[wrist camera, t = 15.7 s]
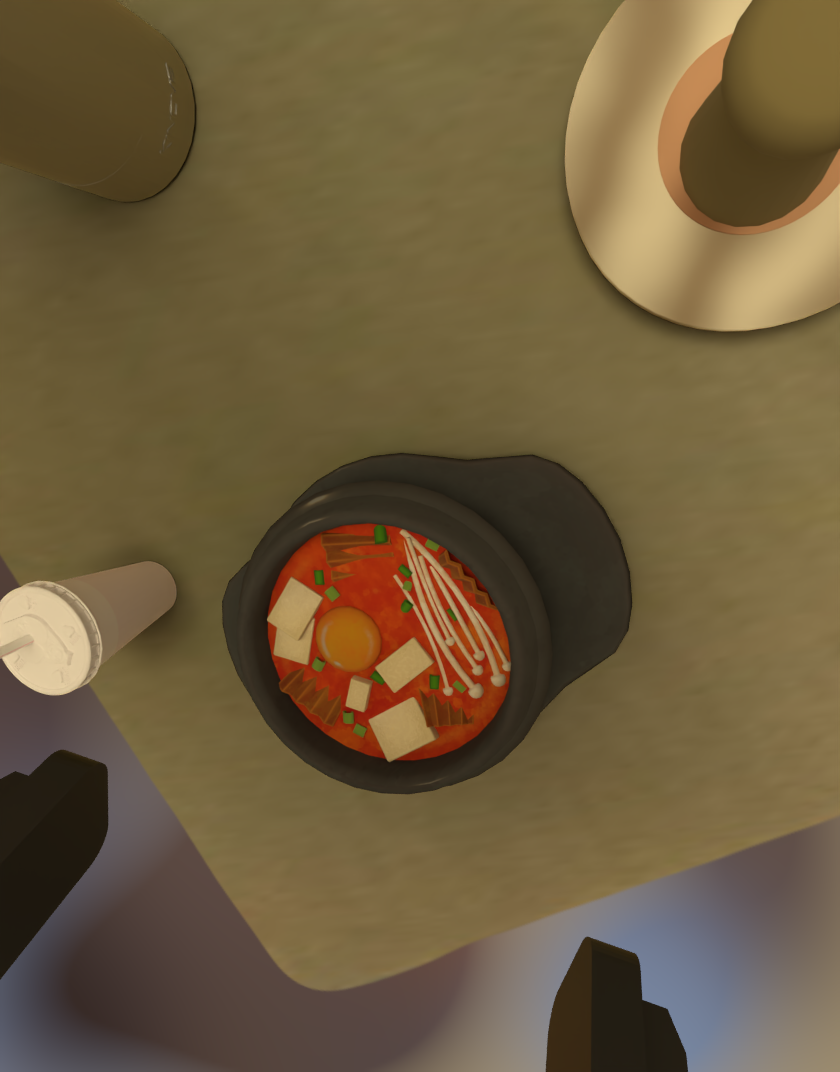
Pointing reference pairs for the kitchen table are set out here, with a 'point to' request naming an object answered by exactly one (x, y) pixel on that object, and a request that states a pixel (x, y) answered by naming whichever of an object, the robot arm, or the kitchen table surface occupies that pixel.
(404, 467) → the casserole
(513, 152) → the kitchen table surface
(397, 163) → the kitchen table surface
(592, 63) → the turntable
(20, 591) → the smoothie
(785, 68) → the brown pepper shaker
